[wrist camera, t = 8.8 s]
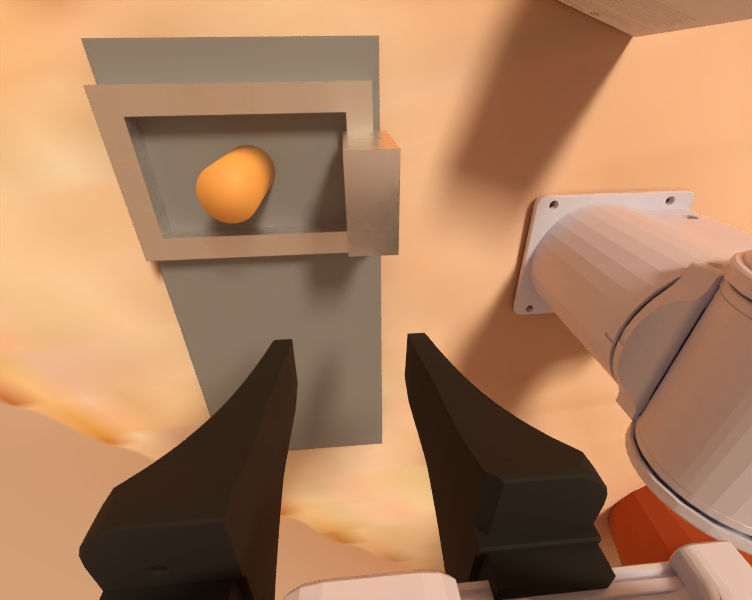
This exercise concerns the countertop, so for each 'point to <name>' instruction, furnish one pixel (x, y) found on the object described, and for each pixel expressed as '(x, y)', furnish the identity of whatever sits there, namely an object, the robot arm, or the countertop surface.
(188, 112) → the beige open rectangular frame
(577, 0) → the small box
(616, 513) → the potted plant
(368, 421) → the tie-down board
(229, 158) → the post
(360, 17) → the countertop surface
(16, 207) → the countertop surface
